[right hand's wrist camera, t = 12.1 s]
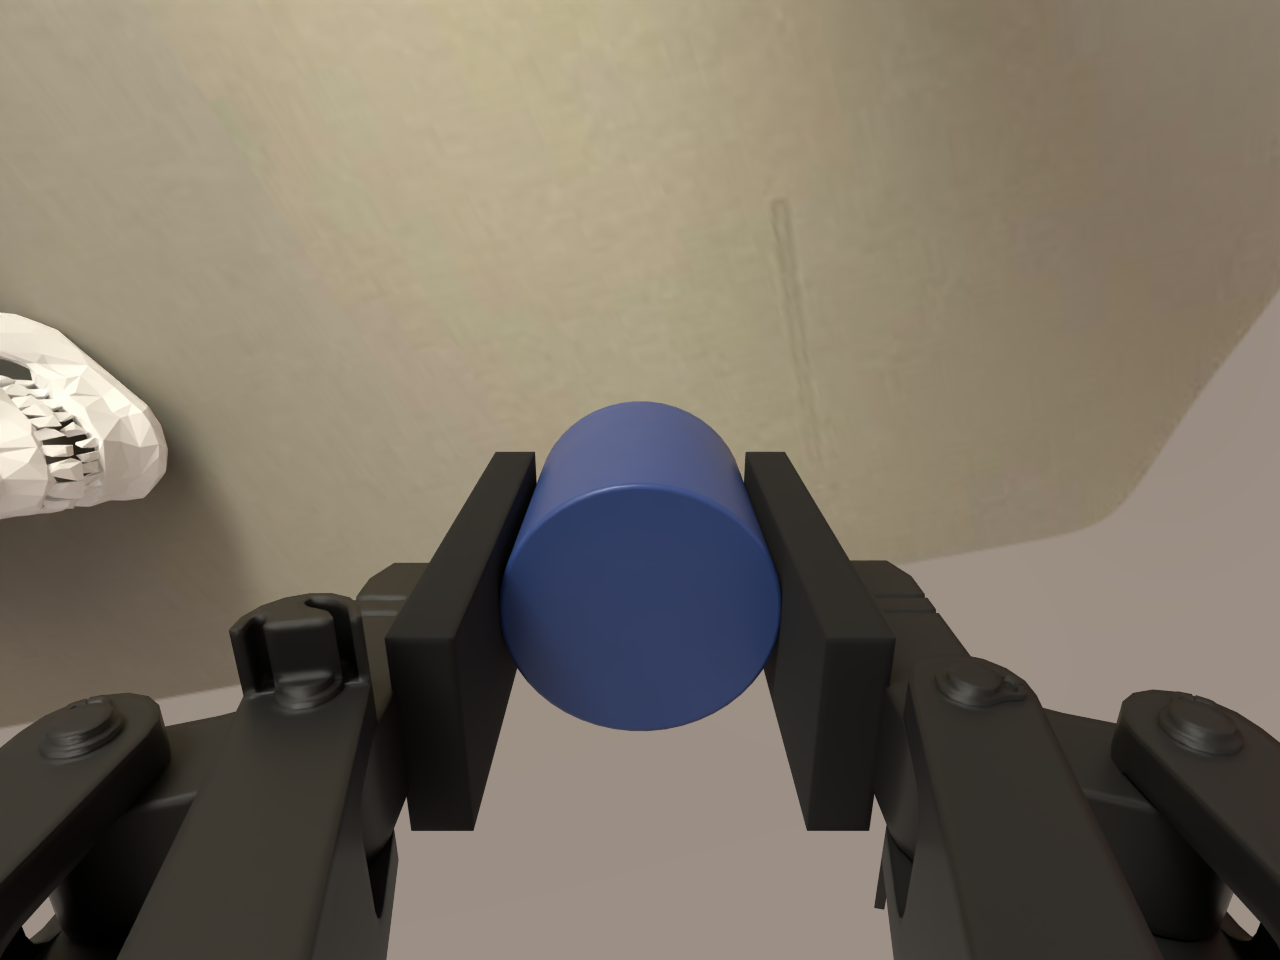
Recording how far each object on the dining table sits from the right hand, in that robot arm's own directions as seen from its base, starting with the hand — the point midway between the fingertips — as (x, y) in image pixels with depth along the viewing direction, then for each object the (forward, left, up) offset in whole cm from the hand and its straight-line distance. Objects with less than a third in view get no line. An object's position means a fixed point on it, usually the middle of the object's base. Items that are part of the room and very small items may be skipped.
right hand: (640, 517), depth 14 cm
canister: (0, 0, 0) cm, 0 cm away
